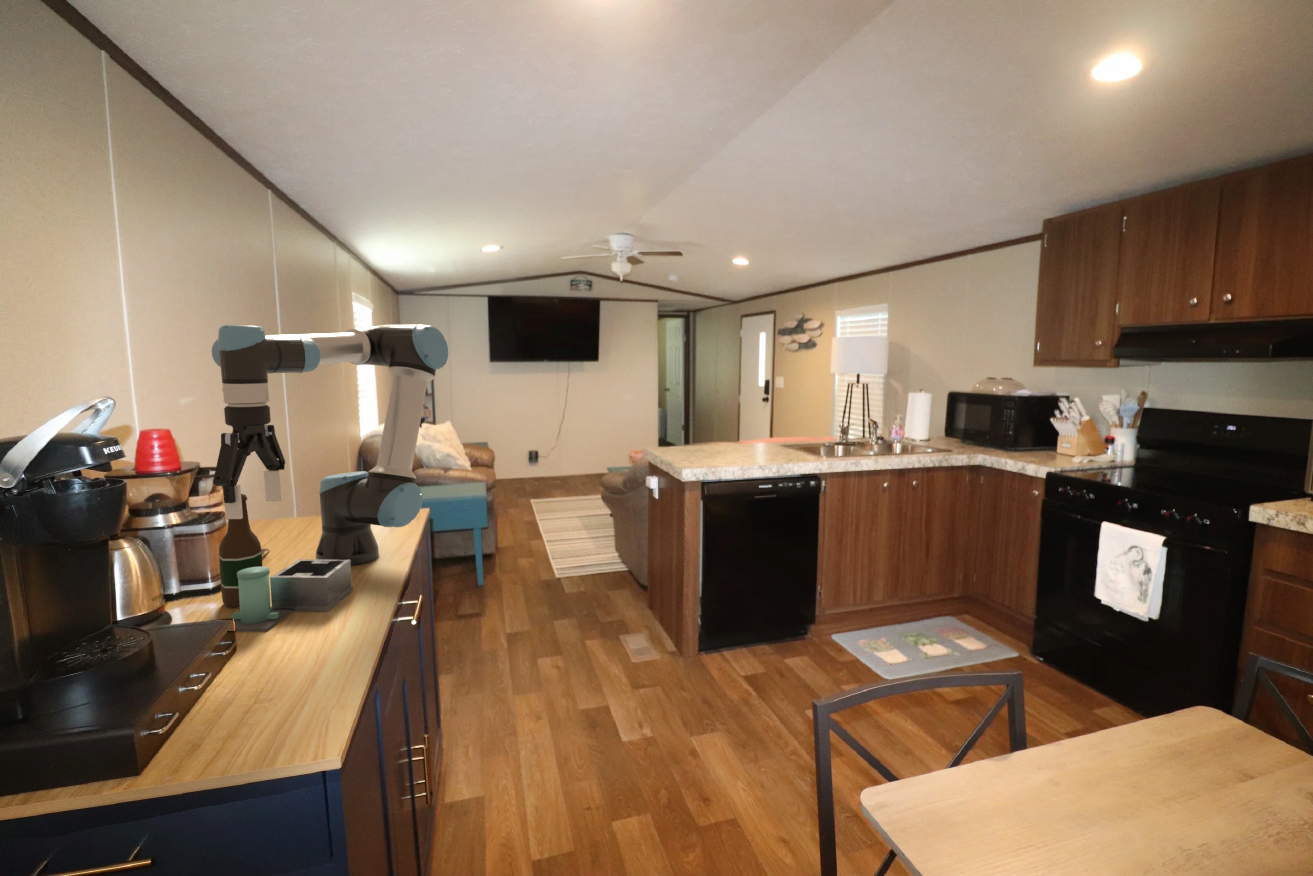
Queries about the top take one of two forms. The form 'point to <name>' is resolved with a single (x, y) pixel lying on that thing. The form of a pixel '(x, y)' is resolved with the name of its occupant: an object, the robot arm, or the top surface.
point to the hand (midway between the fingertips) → (255, 509)
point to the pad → (262, 625)
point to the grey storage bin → (311, 585)
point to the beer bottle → (237, 555)
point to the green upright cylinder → (254, 596)
